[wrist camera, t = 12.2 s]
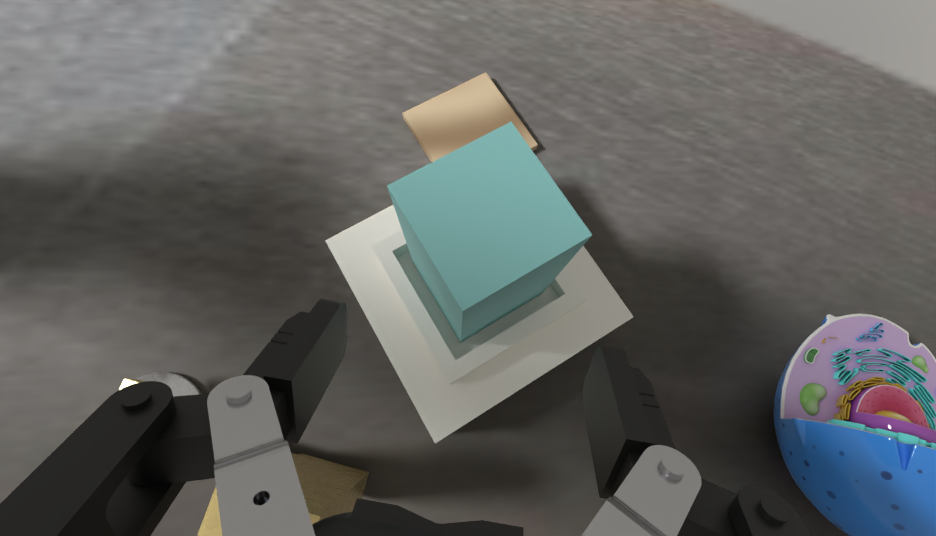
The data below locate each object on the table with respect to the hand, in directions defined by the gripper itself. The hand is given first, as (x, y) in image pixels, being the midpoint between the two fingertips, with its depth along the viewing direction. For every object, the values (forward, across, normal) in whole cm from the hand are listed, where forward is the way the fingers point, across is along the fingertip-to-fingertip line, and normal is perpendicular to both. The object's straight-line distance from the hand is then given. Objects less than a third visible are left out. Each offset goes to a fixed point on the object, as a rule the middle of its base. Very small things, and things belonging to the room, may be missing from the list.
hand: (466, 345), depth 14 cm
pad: (+21, +2, -2) cm, 21 cm away
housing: (+13, 0, +6) cm, 14 cm away
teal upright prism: (+9, 0, +3) cm, 10 cm away
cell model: (+10, -22, +9) cm, 26 cm away
